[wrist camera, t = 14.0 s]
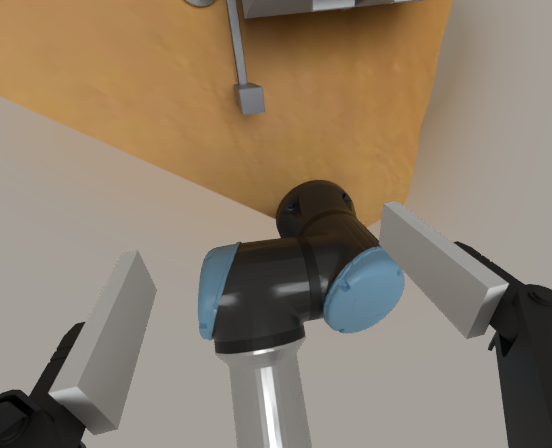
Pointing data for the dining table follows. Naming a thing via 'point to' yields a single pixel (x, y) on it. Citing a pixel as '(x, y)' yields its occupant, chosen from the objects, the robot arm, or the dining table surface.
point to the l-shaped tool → (243, 70)
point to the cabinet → (304, 6)
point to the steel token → (200, 2)
